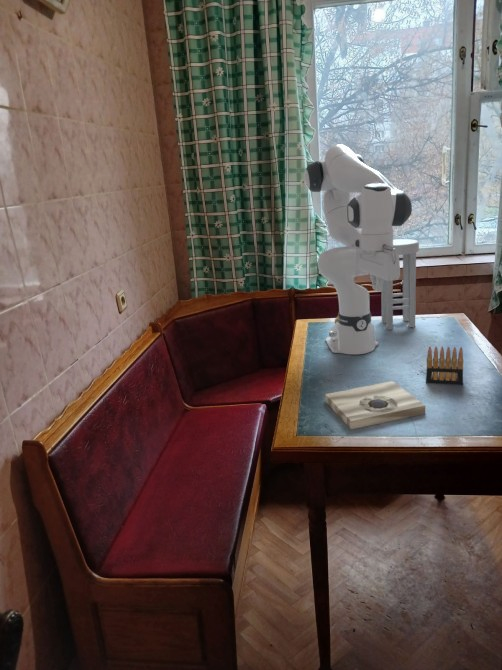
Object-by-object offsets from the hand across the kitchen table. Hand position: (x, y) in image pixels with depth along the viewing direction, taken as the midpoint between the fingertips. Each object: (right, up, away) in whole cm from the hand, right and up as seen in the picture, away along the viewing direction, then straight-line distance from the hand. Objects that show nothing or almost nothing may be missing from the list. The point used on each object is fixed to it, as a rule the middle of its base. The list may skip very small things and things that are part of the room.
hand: (377, 290), depth 145 cm
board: (-2, -34, -3) cm, 34 cm away
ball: (-1, -33, -7) cm, 34 cm away
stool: (+25, -9, +65) cm, 71 cm away
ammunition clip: (+23, -28, +8) cm, 37 cm away
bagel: (+4, -10, +69) cm, 69 cm away
